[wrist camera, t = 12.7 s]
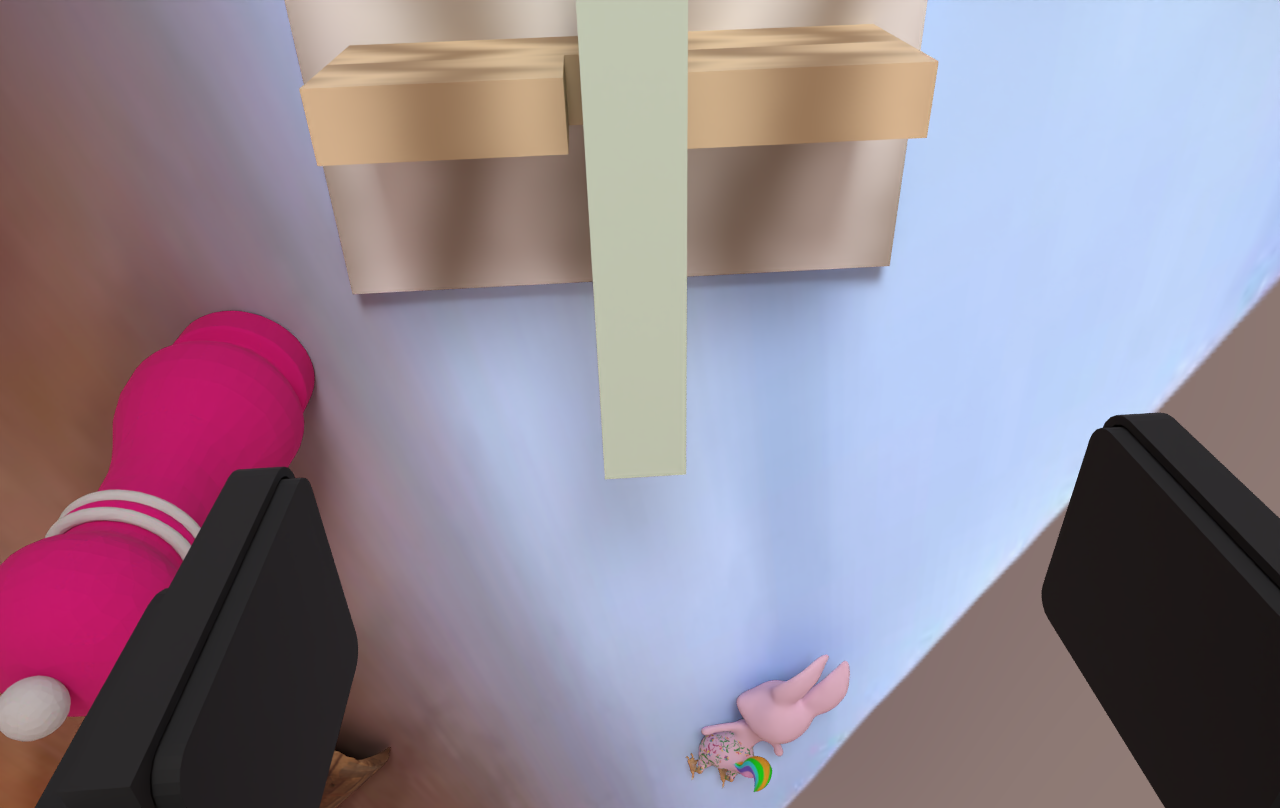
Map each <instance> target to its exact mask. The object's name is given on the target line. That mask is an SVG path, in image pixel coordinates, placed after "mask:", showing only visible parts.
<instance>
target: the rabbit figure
mask: <svg viewBox="0 0 1280 808" xmlns="http://www.w3.org/2000/svg"><path fill="white" fill-rule="evenodd" d="M828 657H829V656H828V655H823V656H821V657H819V658H818V659H816V660H815V661H814V662H813V663H812V664H811V665H809V666H808V667H807V668H806V669H805V670H803V671H802V672H801V673H799V674H798V675H796V676H794V677H793V678H791V679H790V680H788V681H786V682H785V681H781V680H772V681H767V682H765V683H762V684H760V685H758V686H756V687H754V688H752V689H750V690H747V691H745V692H744V693H742V694H741V695H740V696H739V697H738V698H737V707H738V709H739V711H740V713H741V715H742V716H743V718H744V719H740V720H738V721H737V722H730V723H723V724H717V725H711V726H706V727H704V728H702V730H701V732H702V734H703V735H706V736H705V737H704V738H703V739H702V741H701V743H700V746H699V759H698V760H694V758H693V754H692V753H691V755H692V758H691V759H689V757H688V756H686V758H688V764H689V766H690V770H691V773H692V779H693V778H694V772H697V773H699V774H701V773H702V772H703V770H704V769H705V768H707V767H709V766H712V765H714V766H715V767H717V768H718V770H719V773H720V776H721V780H722V782H723V785H722V788H723V787H724V782H725V780H728V781H730V782H733V780H734V778H735V776H736V775H737V773H738V774H742V775H743V776H744V777H748V778H754V781H755V788H754V792H756V791H760V790H762V789H763V788H765V787H766V786H767V784H768V783H769V781H770V779H771V776H772V768H771V766H770V764H769V762H768V761H767V760H766V759H764V758H762V757H759V756H754V752H753V746H754V745H755V744H756V743H758V742H760V741H766V742H768V743H770V744H771V745H772V746H773V747H774V752H775V754H776V755H777V756H781V755H782V754H783V749H782V747H781V744H784V743H788V742H791V741H793V740H795V739H797V738H798V737H800V736H801V735H802V734H803V733H804V732H805V731H806V730H807V729H808V727H809V726H810V724H811V722H812V720H813V719H814V717H815V716H817V715H819V714H822V713H825V712H828V711H830V710H831V709H833V708H834V707H836V706H837V705H838V704H839V703H840V702H841V701H842V699H843V698H844V697H845V695H846V693H847V690H848V686H849V676H850V671H849V664H848V662H847V661H843V662H842V663H841V664H840V665H839V666H838V667H837V668H836V669H835V670H834V671H832V672H831V673H830V674H829V675H828V676H827V677H826V678H825V679H823V680H822V681H821V682H820V683H818V684H817V685H815V684H816V682H817V681H818V679H819V678H820V676H821V673H822V671H823V669H824V666H825V664H826V662H827V660H828ZM814 685H815V686H814ZM813 686H814V687H813ZM812 687H813V688H812ZM697 761H698V767H696V764H697ZM726 772H727V775H726Z"/></svg>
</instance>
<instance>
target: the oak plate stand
mask: <svg viewBox="0 0 1280 808" xmlns="http://www.w3.org/2000/svg"><path fill="white" fill-rule="evenodd" d="M285 5H286V9H287V13H288V18H289V22H290V26H291V31H292V35H293V39H294V43H295V48H296V52H297V56H298V61H299V65H300V69H301V74H302V78H303V82H304V85H303V86H302V87H301V88H300V94H301V98H302V102H303V106H304V111H305V115H306V119H307V123H308V128H309V132H310V136H311V140H312V145H313V149H314V153H315V157H316V162H317V166H323V168H324V173H325V177H326V181H327V186H328V190H329V194H330V198H331V203H332V207H333V211H334V216H335V220H336V224H337V229H338V233H339V237H340V242H341V246H342V250H343V254H344V259H345V263H346V267H347V272H348V276H349V280H350V285H351V289H352V293H353V294H366V293H385V292H404V291H423V290H442V289H461V288H480V287H499V286H518V285H537V284H556V283H575V282H593V275H592V259H591V242H590V226H589V210H588V193H587V177H586V161H585V144H584V128H583V111H582V95H581V79H580V62H579V46H578V30H577V13H576V0H285ZM926 7H927V0H688V127H687V277H689V276H708V275H727V274H746V273H765V272H784V271H803V270H822V269H840V268H859V267H878V266H890V259H891V252H892V245H893V238H894V231H895V224H896V217H897V210H898V203H899V196H900V189H901V182H902V175H903V168H904V161H905V154H906V147H907V140H908V139H909V138H927V132H928V126H929V119H930V113H931V107H932V100H933V94H934V87H935V81H936V74H937V68H938V61H937V60H935V59H933V58H932V57H930V56H928V55H927V54H925V53H923V52H921V51H920V49H921V42H922V35H923V28H924V21H925V14H926Z"/></svg>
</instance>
